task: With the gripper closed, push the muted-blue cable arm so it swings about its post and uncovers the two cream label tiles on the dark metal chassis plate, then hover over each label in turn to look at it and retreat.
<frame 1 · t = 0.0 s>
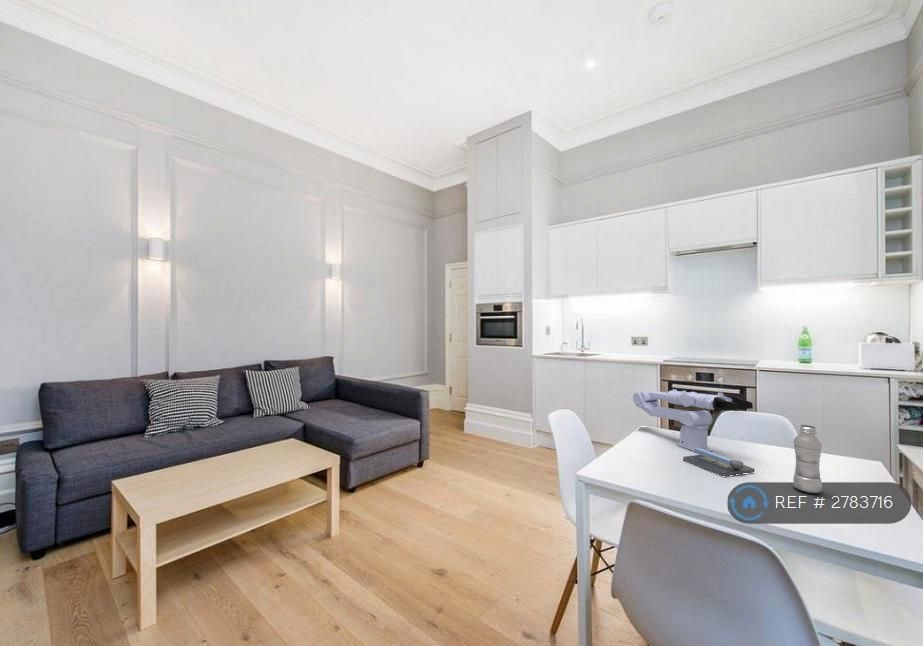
hand: (744, 406, 138), 22 cm above the table, tool horizontal, fingers open, 7 cm apart
cable arm: (717, 457, 136), point 3 cm above the table, hinge at 0.0°
chassis: (717, 466, 137), on the table
plastic bottle: (807, 491, 117), on the table
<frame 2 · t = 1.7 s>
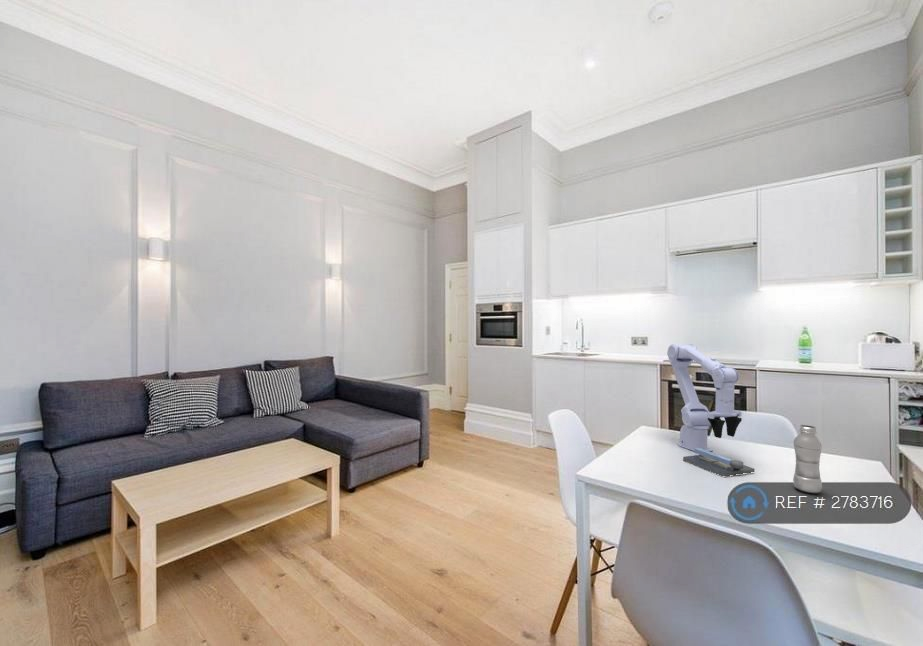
hand: (724, 436, 141), 9 cm above the table, tool pointing down, fingers open, 6 cm apart
nothing on the table moved.
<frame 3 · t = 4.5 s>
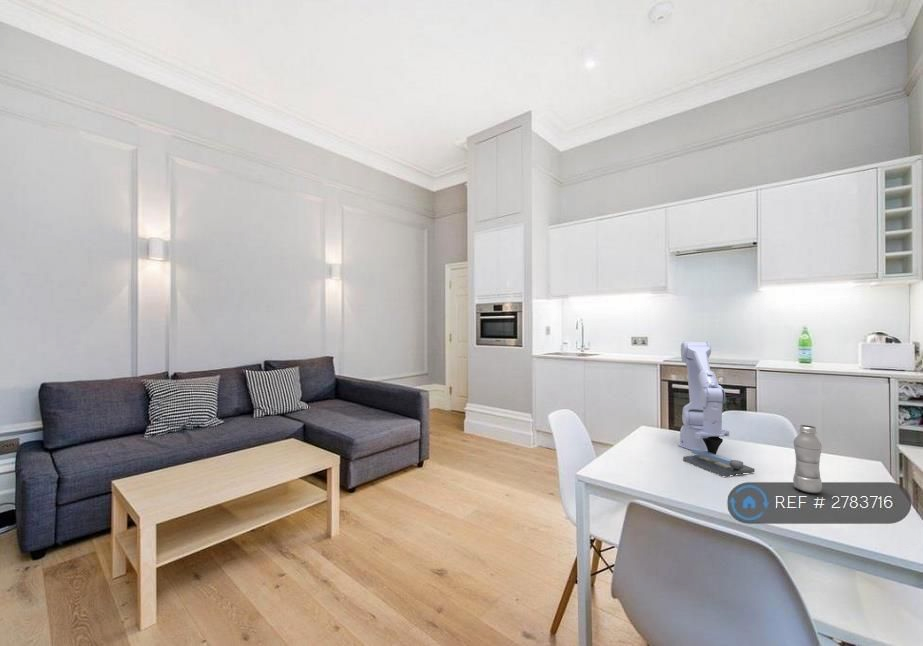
hand: (711, 456, 140), 2 cm above the table, tool pointing down, fingers closed
cable arm: (716, 457, 136), point 3 cm above the table, hinge at 4.8°, touching gripper
everything else where it was.
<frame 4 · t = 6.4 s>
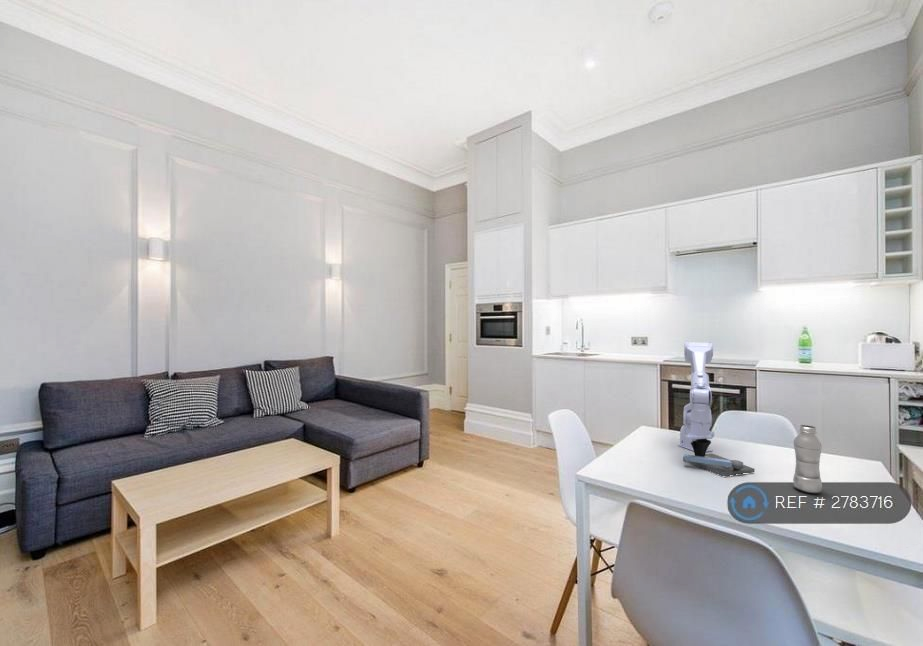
hand: (699, 459, 137), 2 cm above the table, tool pointing down, fingers closed
cable arm: (712, 461, 133), point 3 cm above the table, hinge at 46.6°, touching gripper
everything else where it was.
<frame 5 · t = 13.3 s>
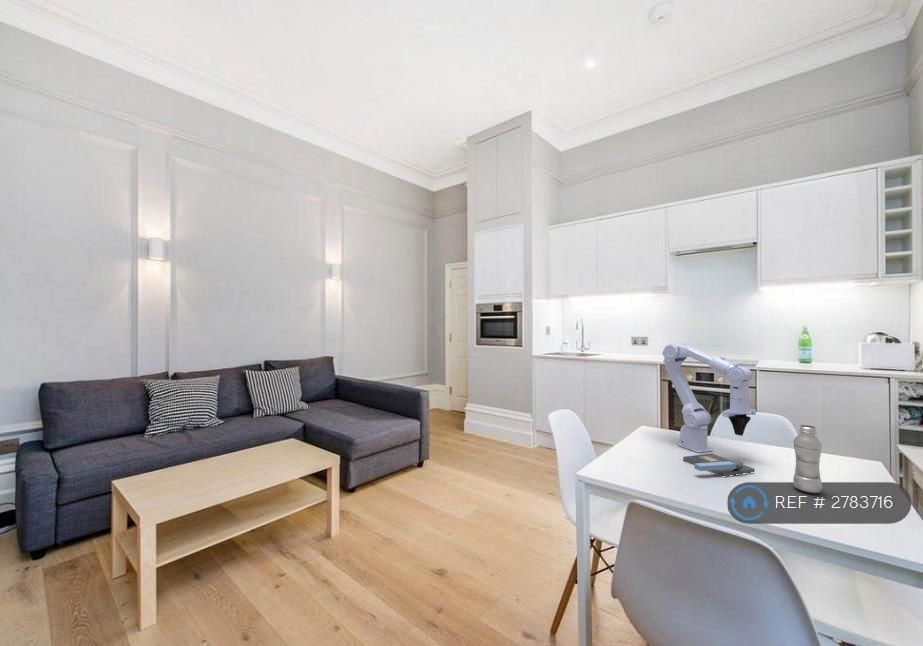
hand: (738, 434, 142), 10 cm above the table, tool pointing down, fingers closed
cable arm: (719, 465, 129), point 3 cm above the table, hinge at 83.1°
everything else where it was.
at the end: cable arm at +83° (first picture: +0°); cable arm touching nothing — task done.
